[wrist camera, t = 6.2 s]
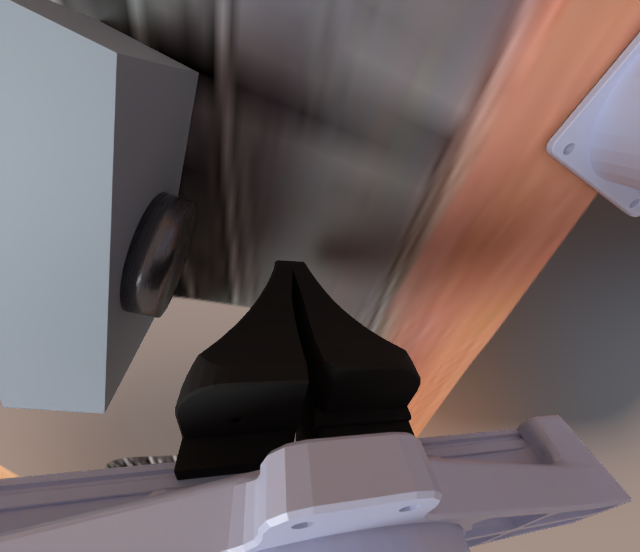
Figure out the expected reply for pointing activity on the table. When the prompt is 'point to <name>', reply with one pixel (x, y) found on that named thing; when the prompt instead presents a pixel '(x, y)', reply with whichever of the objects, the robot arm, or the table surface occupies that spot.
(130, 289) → the pin
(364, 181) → the table surface
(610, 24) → the table surface
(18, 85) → the hitch block
